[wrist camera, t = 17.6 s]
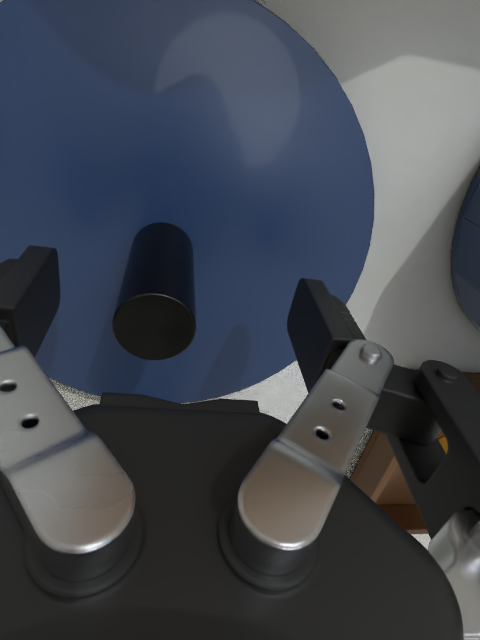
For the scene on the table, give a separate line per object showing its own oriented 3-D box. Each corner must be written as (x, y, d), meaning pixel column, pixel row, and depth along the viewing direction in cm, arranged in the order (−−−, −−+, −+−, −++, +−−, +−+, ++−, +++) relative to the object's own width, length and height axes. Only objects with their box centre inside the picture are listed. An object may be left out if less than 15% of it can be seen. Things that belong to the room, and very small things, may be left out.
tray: (337, 503, 30) (348, 536, 28) (403, 369, 23) (425, 401, 21) (479, 501, 32) (499, 531, 30) (580, 378, 25) (615, 407, 23)
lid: (-22, 383, 20) (-98, 507, 15) (-147, -98, 11) (-479, -241, 5) (307, 395, 23) (344, 500, 18) (432, 31, 14) (590, 22, 9)
